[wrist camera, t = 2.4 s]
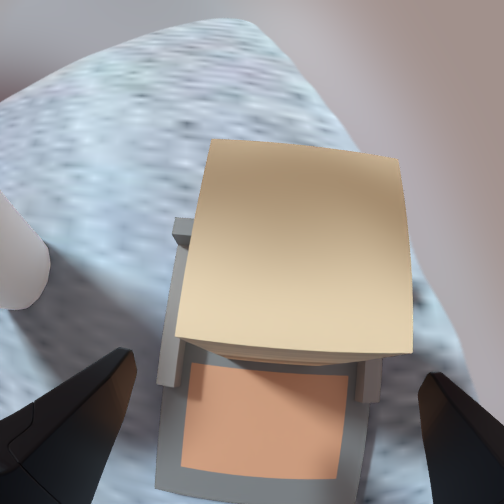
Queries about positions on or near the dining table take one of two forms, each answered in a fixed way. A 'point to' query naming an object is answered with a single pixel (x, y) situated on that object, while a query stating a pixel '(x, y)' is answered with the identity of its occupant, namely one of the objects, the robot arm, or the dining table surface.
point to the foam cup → (20, 260)
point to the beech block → (298, 256)
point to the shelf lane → (257, 419)
